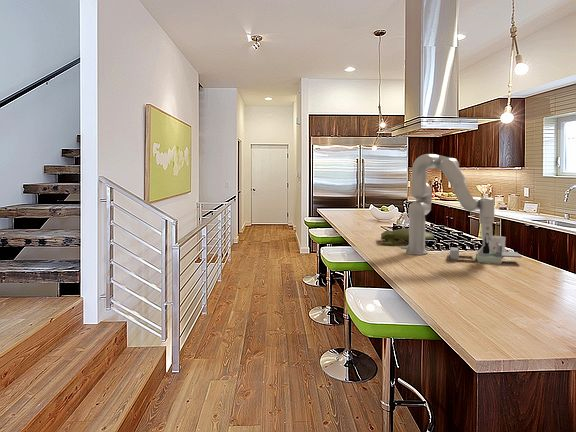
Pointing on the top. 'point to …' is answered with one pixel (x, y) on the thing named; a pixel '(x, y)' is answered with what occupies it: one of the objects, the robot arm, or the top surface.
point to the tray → (462, 259)
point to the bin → (488, 258)
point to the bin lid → (505, 254)
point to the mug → (494, 243)
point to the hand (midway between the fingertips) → (485, 252)
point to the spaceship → (400, 237)
